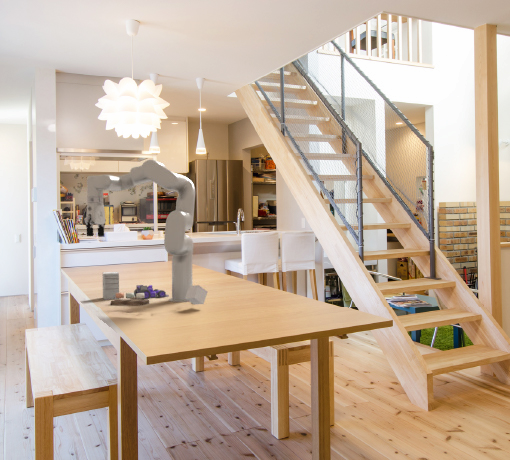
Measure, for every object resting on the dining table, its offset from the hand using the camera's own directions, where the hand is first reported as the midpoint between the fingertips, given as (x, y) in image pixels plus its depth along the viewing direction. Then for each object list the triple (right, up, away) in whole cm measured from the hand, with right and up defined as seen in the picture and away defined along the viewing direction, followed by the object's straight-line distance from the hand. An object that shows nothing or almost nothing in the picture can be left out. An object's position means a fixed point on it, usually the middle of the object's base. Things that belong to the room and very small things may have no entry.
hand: (95, 236), depth 235 cm
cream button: (+27, -27, -22) cm, 44 cm away
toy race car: (+27, -31, +1) cm, 41 cm away
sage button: (+22, -27, -21) cm, 41 cm away
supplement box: (+8, -31, -2) cm, 32 cm away
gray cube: (+53, -30, -27) cm, 67 cm away
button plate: (+22, -30, -21) cm, 43 cm away
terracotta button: (+18, -27, -20) cm, 38 cm away
